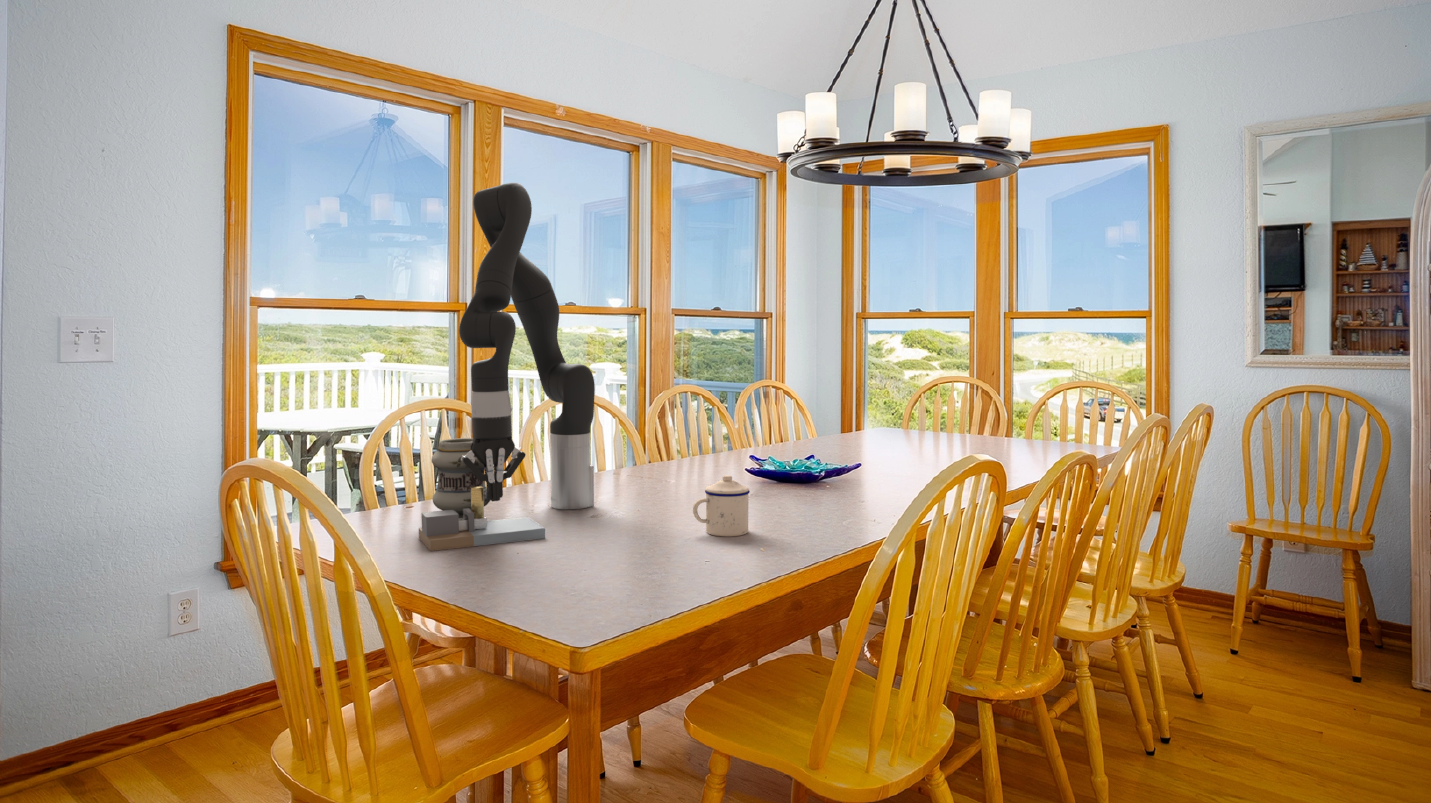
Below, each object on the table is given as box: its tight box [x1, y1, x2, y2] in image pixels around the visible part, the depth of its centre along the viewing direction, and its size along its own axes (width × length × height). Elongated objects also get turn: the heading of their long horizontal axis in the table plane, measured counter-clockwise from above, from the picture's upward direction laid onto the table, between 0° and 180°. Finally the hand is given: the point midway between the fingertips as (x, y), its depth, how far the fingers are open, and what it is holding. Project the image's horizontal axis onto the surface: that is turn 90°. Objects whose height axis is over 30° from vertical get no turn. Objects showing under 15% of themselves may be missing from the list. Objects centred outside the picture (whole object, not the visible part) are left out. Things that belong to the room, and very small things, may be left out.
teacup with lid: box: [692, 474, 750, 538], centre depth 181 cm, size 12×9×12 cm
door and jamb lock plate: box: [418, 508, 546, 552], centre depth 177 cm, size 22×12×6 cm, turn 118°
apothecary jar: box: [431, 437, 491, 518], centre depth 189 cm, size 12×12×18 cm
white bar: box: [459, 487, 488, 531], centre depth 174 cm, size 10×2×8 cm, turn 118°
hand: (495, 500), depth 177 cm, fingers closed
